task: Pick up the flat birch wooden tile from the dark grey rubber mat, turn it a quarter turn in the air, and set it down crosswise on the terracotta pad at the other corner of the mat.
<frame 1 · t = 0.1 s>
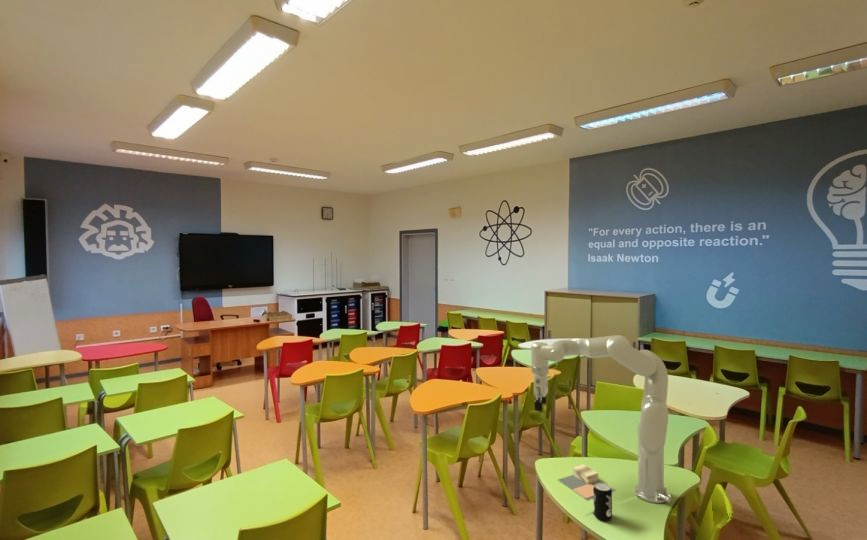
hand: (540, 406, 195), 31 cm above the table, tool pointing down, fingers open, 9 cm apart
beverage can: (602, 517, 163), on the table
rubber mat: (585, 486, 185), on the table
birch tile: (585, 477, 191), point 1 cm above the table, touching rubber mat
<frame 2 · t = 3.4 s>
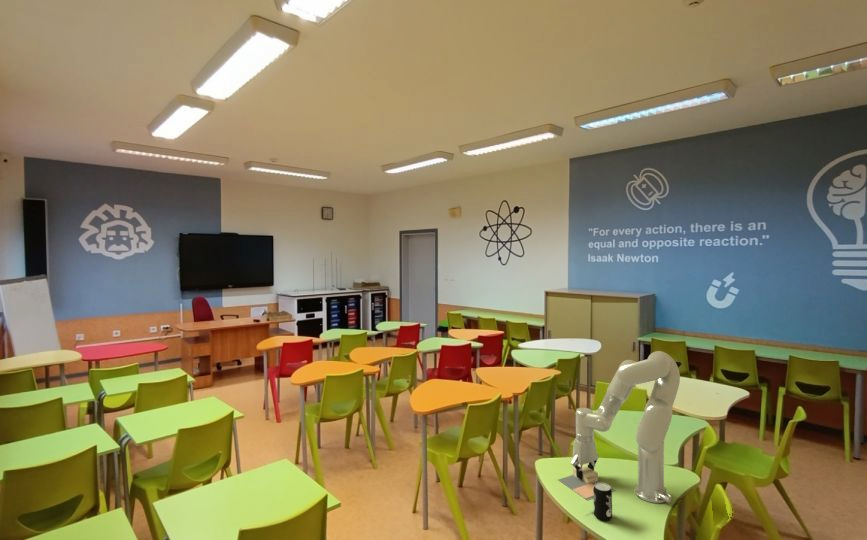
hand: (585, 476, 191), 1 cm above the table, tool pointing down, fingers closed on birch tile, 6 cm apart
birch tile: (585, 477, 191), point 1 cm above the table, touching gripper, rubber mat
everything else where it was.
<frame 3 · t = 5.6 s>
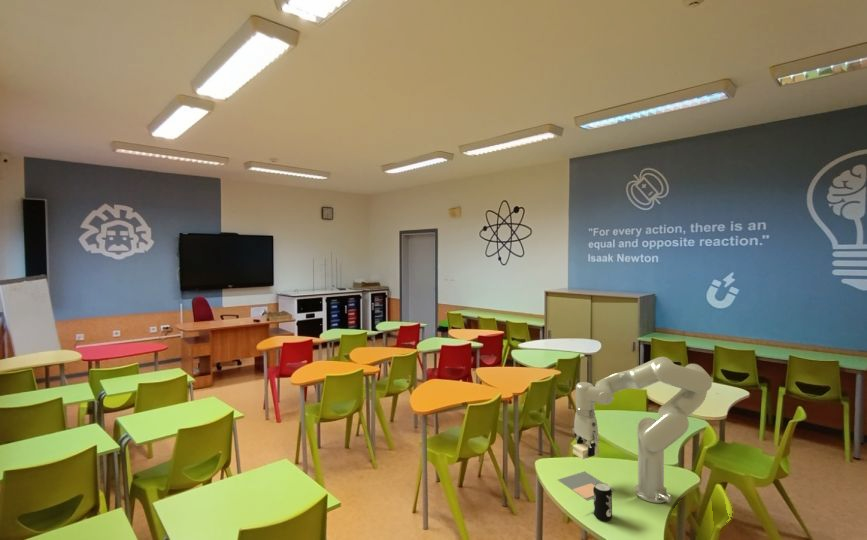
hand: (585, 452, 186), 14 cm above the table, tool pointing down, fingers closed on birch tile, 6 cm apart
birch tile: (585, 453, 186), point 14 cm above the table, touching gripper
everything else where it was.
when the fingers open (3 cm above the table, at t = 8.3 s): birch tile drops 1 cm, resting on rubber mat.
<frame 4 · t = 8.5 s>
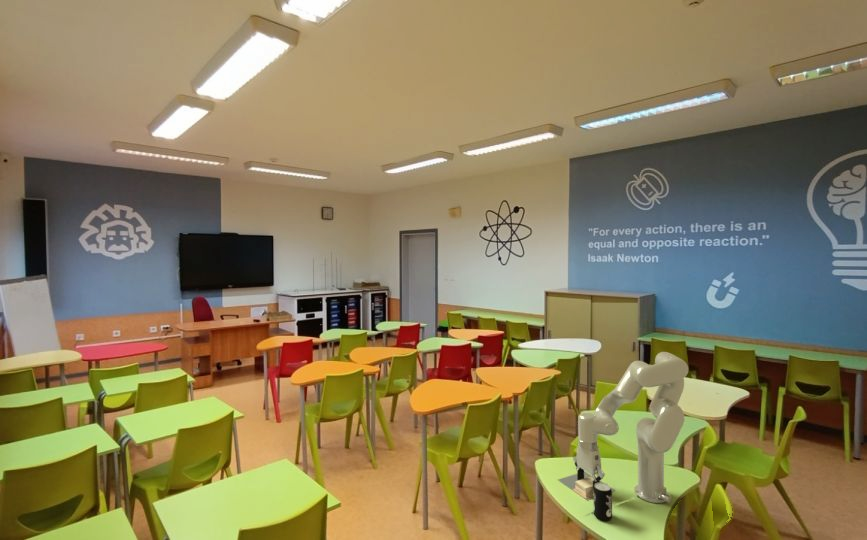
hand: (588, 484, 180), 4 cm above the table, tool pointing down, fingers open, 8 cm apart
birch tile: (588, 490, 180), point 1 cm above the table, touching rubber mat
everything else where it was.
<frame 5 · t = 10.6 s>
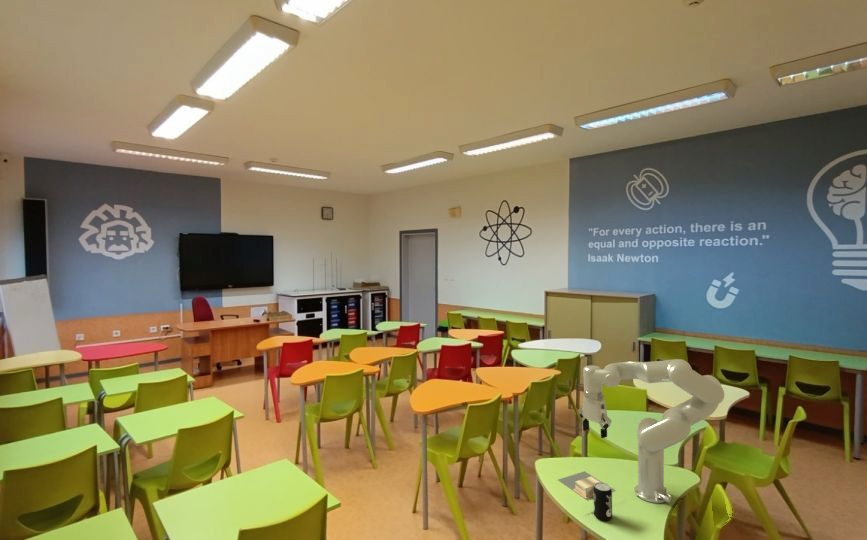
hand: (594, 433, 186), 22 cm above the table, tool pointing down, fingers open, 9 cm apart
nothing on the table moved.
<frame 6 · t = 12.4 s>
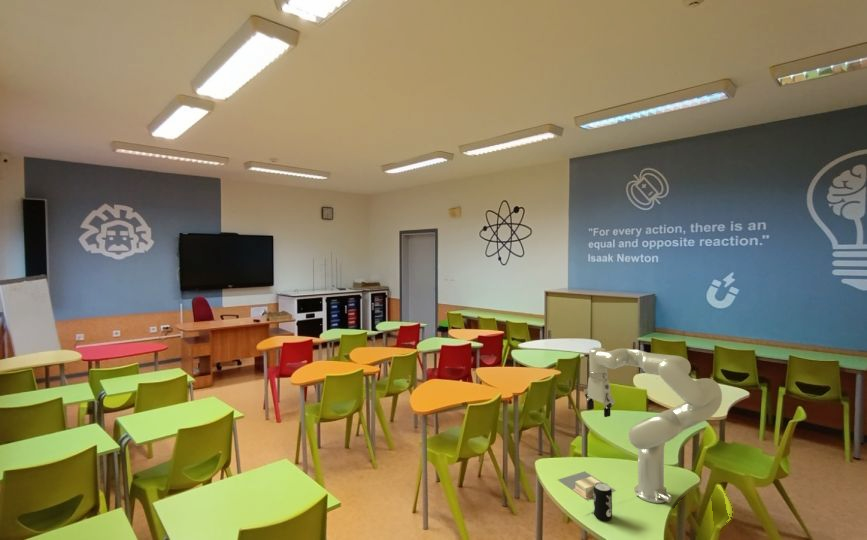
hand: (598, 412, 194), 28 cm above the table, tool pointing down, fingers open, 9 cm apart
nothing on the table moved.
at the end: birch tile 0.1 cm from the target spot on the rubber mat, point 0.8 cm above the rubber mat's base; birch tile tilted 0°; the gripper is holding nothing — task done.
